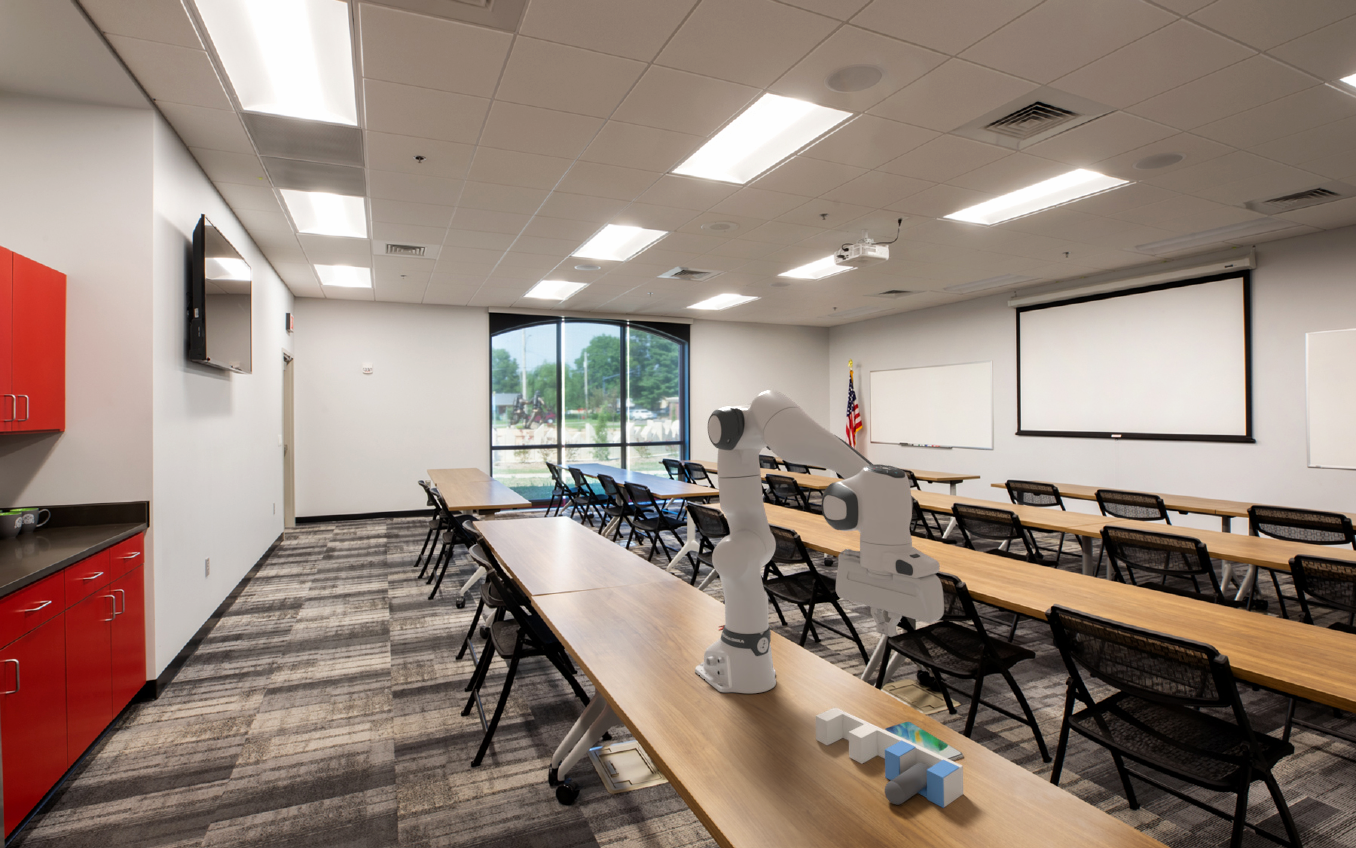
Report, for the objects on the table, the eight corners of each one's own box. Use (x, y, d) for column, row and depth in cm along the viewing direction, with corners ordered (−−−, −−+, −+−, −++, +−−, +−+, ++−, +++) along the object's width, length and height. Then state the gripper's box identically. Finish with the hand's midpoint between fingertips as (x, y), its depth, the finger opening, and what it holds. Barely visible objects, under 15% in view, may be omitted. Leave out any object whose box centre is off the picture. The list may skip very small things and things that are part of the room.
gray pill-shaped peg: (880, 801, 107) (880, 781, 107) (918, 775, 114) (918, 756, 114) (898, 812, 104) (898, 791, 104) (936, 785, 111) (936, 765, 111)
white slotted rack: (815, 740, 128) (814, 715, 128) (835, 730, 132) (834, 706, 132) (943, 808, 105) (942, 777, 105) (963, 793, 109) (962, 764, 109)
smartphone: (937, 763, 118) (882, 728, 132) (937, 768, 118) (883, 732, 132) (965, 754, 121) (908, 720, 134) (965, 758, 121) (908, 724, 135)
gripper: (828, 549, 116) (828, 622, 116) (927, 570, 99) (927, 655, 99) (849, 545, 120) (850, 615, 120) (948, 564, 103) (949, 646, 103)
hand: (886, 634), depth 109 cm, fingers closed
